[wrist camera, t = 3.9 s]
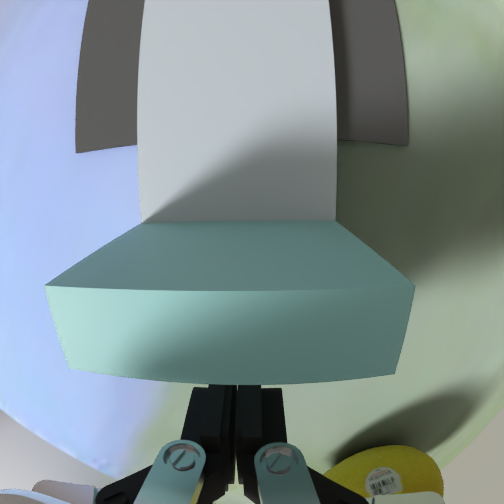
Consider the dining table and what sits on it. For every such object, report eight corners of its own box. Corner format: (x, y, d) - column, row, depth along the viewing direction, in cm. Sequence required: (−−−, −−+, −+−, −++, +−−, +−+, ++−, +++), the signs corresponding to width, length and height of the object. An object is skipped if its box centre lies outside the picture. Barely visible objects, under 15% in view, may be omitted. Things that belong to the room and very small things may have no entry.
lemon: (443, 414, 16) (489, 495, 8) (403, 474, 18) (428, 544, 10) (295, 431, 16) (309, 548, 8) (277, 488, 18) (282, 574, 10)
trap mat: (375, -61, 8) (377, -63, 7) (405, 146, 11) (408, 146, 11) (104, -51, 8) (102, -53, 8) (79, 153, 11) (75, 153, 11)
